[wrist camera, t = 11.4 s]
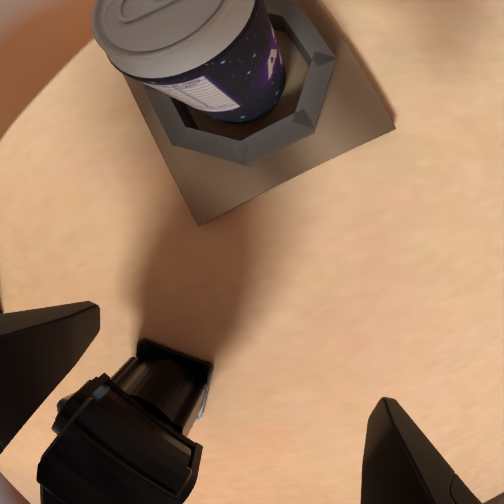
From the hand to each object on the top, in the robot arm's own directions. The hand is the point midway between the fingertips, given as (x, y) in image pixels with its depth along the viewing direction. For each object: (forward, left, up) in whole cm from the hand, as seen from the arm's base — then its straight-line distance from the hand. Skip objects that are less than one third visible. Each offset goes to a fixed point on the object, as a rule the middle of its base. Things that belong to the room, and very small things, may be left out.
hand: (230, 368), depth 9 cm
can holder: (+5, -10, -13) cm, 18 cm away
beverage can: (+5, -10, -13) cm, 17 cm away
